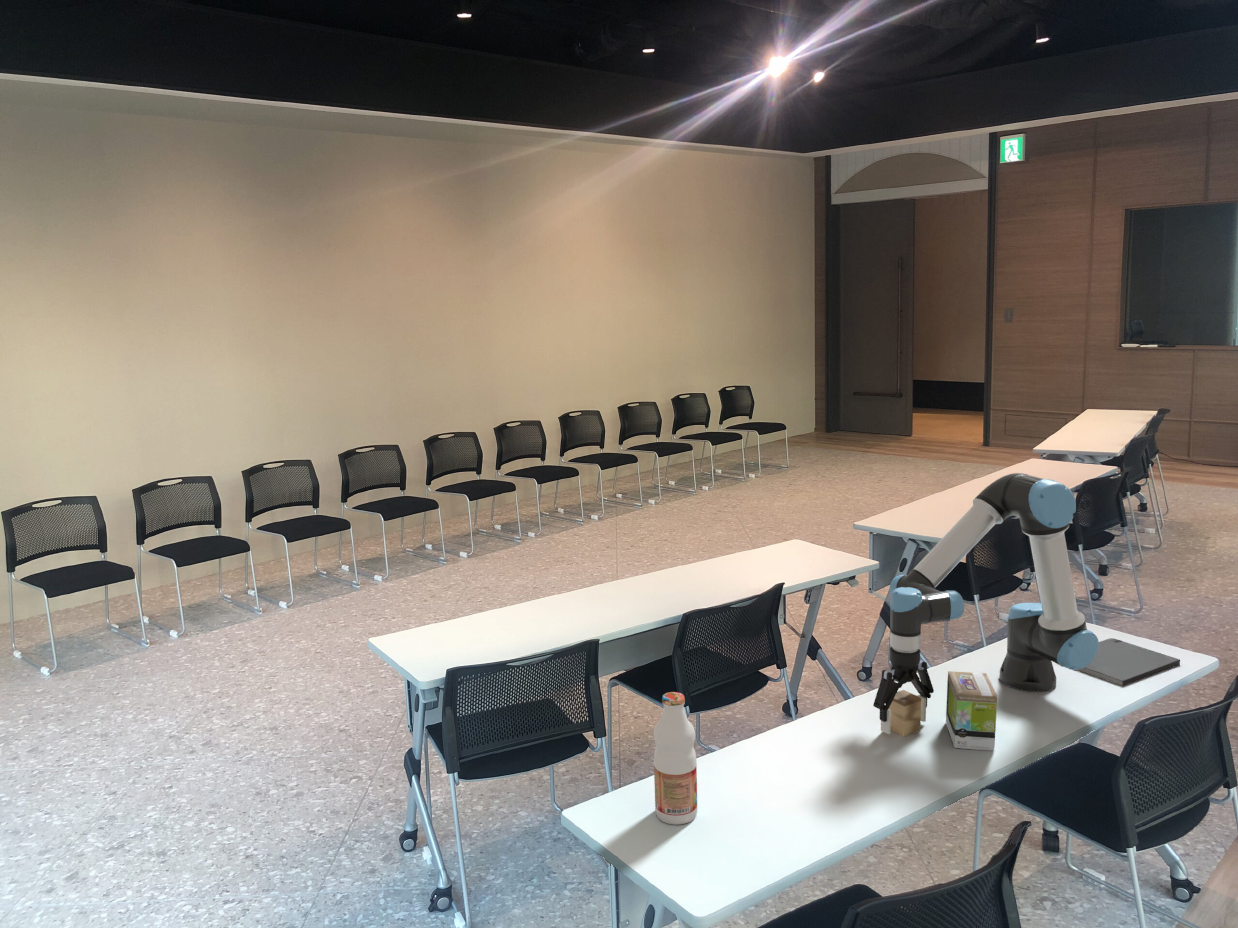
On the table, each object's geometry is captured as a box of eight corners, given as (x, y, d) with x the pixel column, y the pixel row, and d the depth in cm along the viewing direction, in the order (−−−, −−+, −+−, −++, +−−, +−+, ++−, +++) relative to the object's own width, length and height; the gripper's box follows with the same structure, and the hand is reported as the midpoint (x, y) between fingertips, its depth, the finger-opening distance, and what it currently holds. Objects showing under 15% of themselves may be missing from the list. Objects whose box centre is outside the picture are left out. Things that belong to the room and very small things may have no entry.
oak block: (902, 721, 245) (903, 689, 243) (920, 730, 239) (921, 697, 238) (886, 727, 242) (886, 695, 240) (903, 736, 237) (904, 703, 235)
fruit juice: (646, 811, 206) (643, 694, 201) (679, 798, 211) (676, 683, 206) (672, 830, 198) (669, 709, 193) (706, 815, 203) (704, 697, 199)
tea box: (996, 751, 227) (998, 695, 225) (953, 749, 229) (955, 693, 227) (984, 724, 242) (986, 671, 239) (944, 722, 244) (946, 669, 241)
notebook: (1122, 688, 262) (1179, 666, 275) (1122, 680, 261) (1180, 659, 275) (1054, 663, 280) (1111, 643, 294) (1054, 656, 280) (1111, 637, 293)
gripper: (927, 633, 246) (925, 709, 249) (859, 653, 234) (858, 731, 238) (949, 642, 239) (947, 719, 243) (881, 662, 228) (879, 743, 231)
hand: (903, 725), depth 240 cm, fingers open, 12 cm apart
